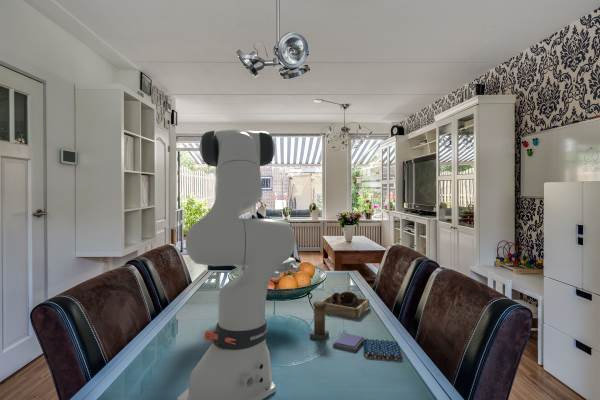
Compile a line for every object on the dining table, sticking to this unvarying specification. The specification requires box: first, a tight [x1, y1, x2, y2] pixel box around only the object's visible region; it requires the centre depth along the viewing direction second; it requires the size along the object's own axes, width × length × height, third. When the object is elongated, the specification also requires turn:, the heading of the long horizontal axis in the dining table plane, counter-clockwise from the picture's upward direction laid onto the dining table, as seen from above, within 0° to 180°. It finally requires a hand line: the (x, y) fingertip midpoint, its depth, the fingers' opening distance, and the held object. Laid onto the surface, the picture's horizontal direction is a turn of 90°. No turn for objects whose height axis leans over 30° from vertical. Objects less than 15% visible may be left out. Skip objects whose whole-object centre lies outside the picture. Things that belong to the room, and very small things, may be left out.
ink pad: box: [332, 332, 366, 353], centre depth 103 cm, size 9×7×1 cm
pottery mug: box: [332, 291, 359, 308], centre depth 135 cm, size 12×10×8 cm
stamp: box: [309, 300, 330, 342], centre depth 108 cm, size 4×4×11 cm
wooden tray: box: [321, 293, 370, 319], centre depth 135 cm, size 14×16×4 cm
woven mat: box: [362, 338, 403, 361], centre depth 98 cm, size 10×11×2 cm
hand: (288, 272), depth 116 cm, fingers open, 8 cm apart
